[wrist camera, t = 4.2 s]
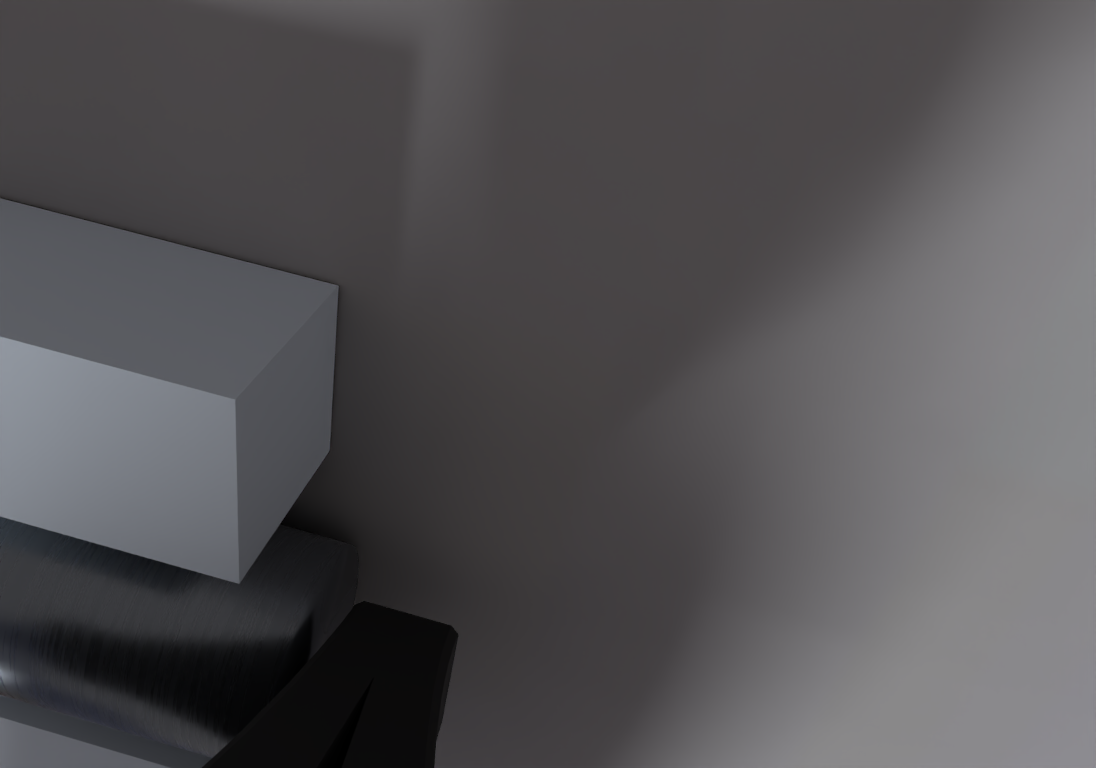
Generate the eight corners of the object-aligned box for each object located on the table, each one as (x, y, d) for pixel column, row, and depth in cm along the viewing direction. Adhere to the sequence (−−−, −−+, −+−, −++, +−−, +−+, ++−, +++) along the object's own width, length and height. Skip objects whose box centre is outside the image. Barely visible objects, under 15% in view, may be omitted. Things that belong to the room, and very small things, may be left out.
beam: (313, 740, 15) (245, 883, 13) (46, 661, 16) (-63, 789, 13) (338, 285, 10) (235, 400, 8) (-56, 183, 11) (-251, 269, 9)
